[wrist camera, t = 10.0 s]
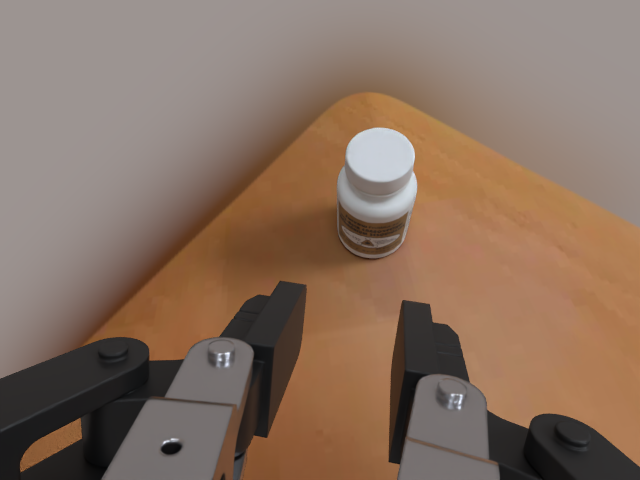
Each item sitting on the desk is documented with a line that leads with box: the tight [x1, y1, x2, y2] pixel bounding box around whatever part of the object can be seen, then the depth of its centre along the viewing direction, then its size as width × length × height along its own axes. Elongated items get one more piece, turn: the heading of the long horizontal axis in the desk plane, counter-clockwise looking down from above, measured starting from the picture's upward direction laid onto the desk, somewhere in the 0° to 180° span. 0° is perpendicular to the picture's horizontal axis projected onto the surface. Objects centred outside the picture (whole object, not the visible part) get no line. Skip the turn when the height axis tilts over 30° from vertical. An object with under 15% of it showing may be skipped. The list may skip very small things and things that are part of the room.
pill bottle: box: [337, 128, 417, 258], centre depth 27 cm, size 4×4×8 cm
